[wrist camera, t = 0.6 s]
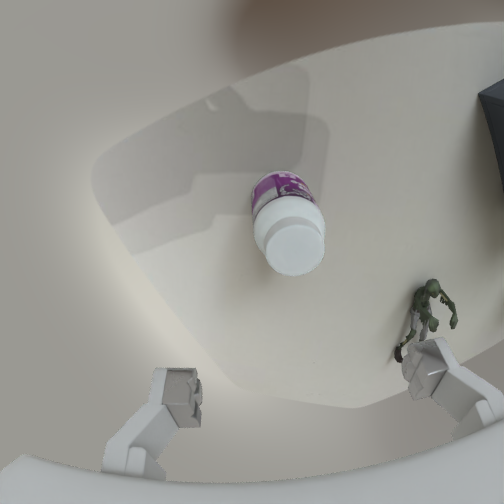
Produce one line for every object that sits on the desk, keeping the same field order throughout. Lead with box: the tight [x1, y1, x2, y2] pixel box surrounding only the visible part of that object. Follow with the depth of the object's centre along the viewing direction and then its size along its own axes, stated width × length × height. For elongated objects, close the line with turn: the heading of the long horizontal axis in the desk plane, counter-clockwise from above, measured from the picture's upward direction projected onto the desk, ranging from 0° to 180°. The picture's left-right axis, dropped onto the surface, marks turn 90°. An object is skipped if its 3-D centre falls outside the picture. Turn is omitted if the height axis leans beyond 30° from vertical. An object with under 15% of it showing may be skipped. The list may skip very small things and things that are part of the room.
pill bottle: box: [251, 171, 325, 276], centre depth 25 cm, size 5×5×10 cm
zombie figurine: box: [394, 279, 458, 363], centre depth 36 cm, size 5×7×15 cm
